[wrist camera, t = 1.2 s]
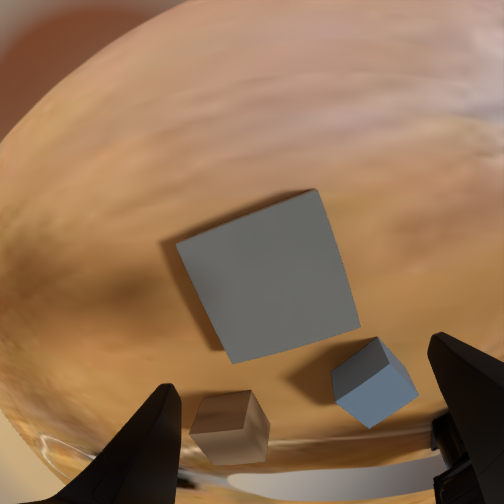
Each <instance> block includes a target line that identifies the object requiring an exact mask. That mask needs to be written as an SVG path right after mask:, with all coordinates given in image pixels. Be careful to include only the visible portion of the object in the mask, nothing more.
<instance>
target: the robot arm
mask: <svg viewBox="0 0 504 504" xmlns="http://www.w3.org/2000/svg"><path fill="white" fill-rule="evenodd" d="M427 355H428V359H429V361H430V364H431V367H432V369H433V372H434V375H435V377H436V380H437V383H438V386H439V388H440V391H441V393H442V395H443V397H444V399H445V401H446V403H447V406H448V408H449V410H450V413H448V414H446V415H444V416H442V417H440V418H438V419H436V420H434V421H433V422H432V434H431V450H432V451H435V450H437V449H440V452H441V454H442V457H443V460H444V462H445V465H446V467H447V471H445V472H444V473H442V474H441V475H439V476H436V477H434V478H433V479H434V484H433V485H434V492H435V499H436V504H504V362H502V361H500V360H498V359H496V358H494V357H492V356H490V355H488V354H486V353H484V352H482V351H480V350H478V349H476V348H474V347H472V346H470V345H468V344H466V343H464V342H462V341H460V340H458V339H456V338H454V337H452V336H450V335H448V334H446V333H444V332H439V333H436V334H433V335H432V337H431V340H430V343H429V347H428V351H427ZM180 449H181V399H180V396H179V394H178V393H177V391H176V389H175V387H174V385H173V384H171V383H164V384H160V385H159V386H158V387H157V388H156V390H155V391H154V392H153V393H152V394H151V395H150V396H149V398H148V399H147V400H146V401H145V402H144V403H143V405H142V406H141V407H140V408H139V409H138V410H137V411H136V413H135V414H134V415H133V416H132V417H131V418H130V419H129V421H128V422H127V423H126V424H125V425H124V426H123V427H122V429H121V430H120V431H119V432H118V433H117V434H116V435H115V437H114V438H113V439H112V440H111V441H110V442H109V443H108V444H107V446H106V447H105V448H104V449H103V450H102V451H103V452H100V453H99V454H98V456H97V457H96V458H95V459H94V460H93V461H92V462H91V463H90V464H89V465H88V466H87V467H86V468H85V469H84V470H83V471H82V472H81V473H80V474H79V475H78V476H77V477H76V478H74V479H73V480H72V481H71V482H70V483H69V484H67V485H66V486H65V487H64V488H63V489H62V490H60V491H59V492H58V493H57V494H56V495H54V496H52V497H50V498H48V499H45V500H41V501H34V502H28V503H19V504H175V495H176V485H177V475H178V466H179V457H180Z"/></svg>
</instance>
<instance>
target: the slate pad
mask: <svg viewBox="0 0 504 504" xmlns="http://www.w3.org/2000/svg"><path fill="white" fill-rule="evenodd" d="M175 245H176V247H177V249H178V252H179V254H180V256H181V259H182V261H183V263H184V265H185V268H186V270H187V272H188V274H189V276H190V279H191V281H192V283H193V285H194V287H195V290H196V292H197V294H198V296H199V298H200V300H201V302H202V304H203V307H204V309H205V311H206V313H207V315H208V317H209V319H210V321H211V323H212V325H213V327H214V329H215V331H216V333H217V335H218V337H219V339H220V341H221V343H222V345H223V347H224V349H225V351H226V353H227V355H228V357H229V359H230V361H231V363H232V364H235V363H240V362H244V361H248V360H252V359H256V358H260V357H264V356H268V355H272V354H276V353H279V352H283V351H287V350H290V349H294V348H297V347H301V346H304V345H307V344H311V343H314V342H317V341H320V340H324V339H327V338H330V337H333V336H336V335H339V334H342V333H345V332H348V331H351V330H354V329H357V328H360V327H361V325H360V322H359V318H358V314H357V310H356V307H355V303H354V300H353V296H352V293H351V289H350V286H349V282H348V279H347V276H346V272H345V269H344V266H343V263H342V259H341V256H340V253H339V250H338V247H337V244H336V241H335V238H334V235H333V232H332V229H331V226H330V223H329V220H328V217H327V214H326V212H325V209H324V206H323V203H322V200H321V198H320V195H319V192H318V190H317V189H312V190H309V191H307V192H304V193H301V194H298V195H296V196H293V197H290V198H288V199H285V200H282V201H279V202H277V203H274V204H271V205H269V206H266V207H263V208H261V209H258V210H256V211H253V212H250V213H248V214H245V215H243V216H240V217H237V218H235V219H232V220H230V221H227V222H225V223H222V224H220V225H217V226H215V227H212V228H210V229H207V230H205V231H202V232H200V233H197V234H195V235H192V236H190V237H187V238H185V239H183V240H182V241H180V242H179V243H177V244H175Z"/></svg>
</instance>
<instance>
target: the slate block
mask: <svg viewBox="0 0 504 504" xmlns="http://www.w3.org/2000/svg"><path fill="white" fill-rule="evenodd" d="M331 378H332V385H333V392H334V399H335V402H336V403H337V404H338V405H339V406H341V407H342V408H343V409H344V410H346V411H347V412H348V413H350V414H351V415H352V416H353V417H355V418H356V419H357V420H358V421H360V422H361V423H362V424H364V425H365V426H366V427H368V428H371V427H373V426H374V425H376V424H377V423H379V422H381V421H382V420H384V419H385V418H387V417H388V416H390V415H391V414H393V413H394V412H396V411H397V410H399V409H400V408H402V407H403V406H405V405H406V404H408V403H409V402H410V401H412V400H413V399H415V398H416V397H417V396H419V394H418V392H417V390H416V388H415V386H414V384H413V382H412V380H411V378H410V376H409V374H408V372H407V370H406V368H405V367H404V366H403V365H402V363H401V362H400V361H399V360H398V359H397V358H396V357H395V355H394V354H393V353H392V352H391V351H390V350H389V349H388V348H387V347H386V345H385V344H384V343H383V342H382V341H381V340H380V339H379V338H378V337H376V338H375V339H374V340H373V341H371V342H370V343H369V344H368V345H366V346H365V347H364V348H362V349H361V350H360V351H359V352H357V353H356V354H355V355H353V356H352V357H351V358H349V359H348V360H347V361H345V362H344V363H342V364H341V365H340V366H338V367H337V368H335V369H334V370H333V371H331Z"/></svg>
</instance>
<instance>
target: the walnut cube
mask: <svg viewBox="0 0 504 504" xmlns="http://www.w3.org/2000/svg"><path fill="white" fill-rule="evenodd" d="M269 430H270V423H269V421H268V419H267V417H266V416H265V414H264V412H263V410H262V408H261V407H260V405H259V403H258V401H257V399H256V397H255V396H254V394H253V392H252V390H249V391H244V392H238V393H233V394H228V395H222V396H216V397H209V398H203V401H202V403H201V405H200V408H199V410H198V413H197V415H196V418H195V420H194V423H193V425H192V427H191V430H190V432H189V435H190V436H191V438H192V439H193V440H194V442H195V443H196V444H197V445H198V446H199V448H200V449H201V450H202V451H203V453H204V454H205V455H206V456H207V457H208V458H209V460H210V461H211V462H212V463H213V464H214V465H215V466H220V465H236V464H248V463H258V462H265V461H266V453H267V446H268V438H269Z"/></svg>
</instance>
